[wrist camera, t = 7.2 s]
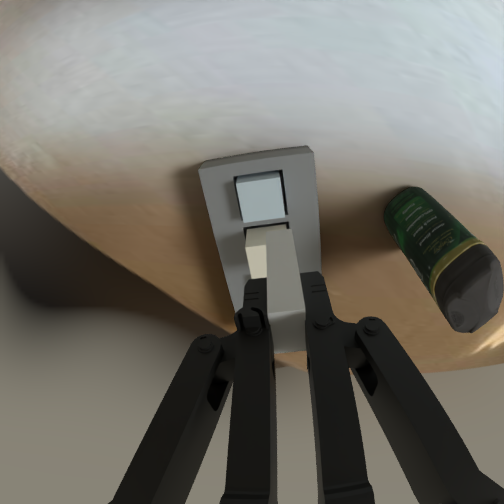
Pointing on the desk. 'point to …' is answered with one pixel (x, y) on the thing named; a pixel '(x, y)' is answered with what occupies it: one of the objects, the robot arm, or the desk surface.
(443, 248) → the coffee jar
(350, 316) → the desk surface
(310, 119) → the desk surface
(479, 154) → the desk surface
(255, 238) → the key cream
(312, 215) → the keypad
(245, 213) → the key blue
